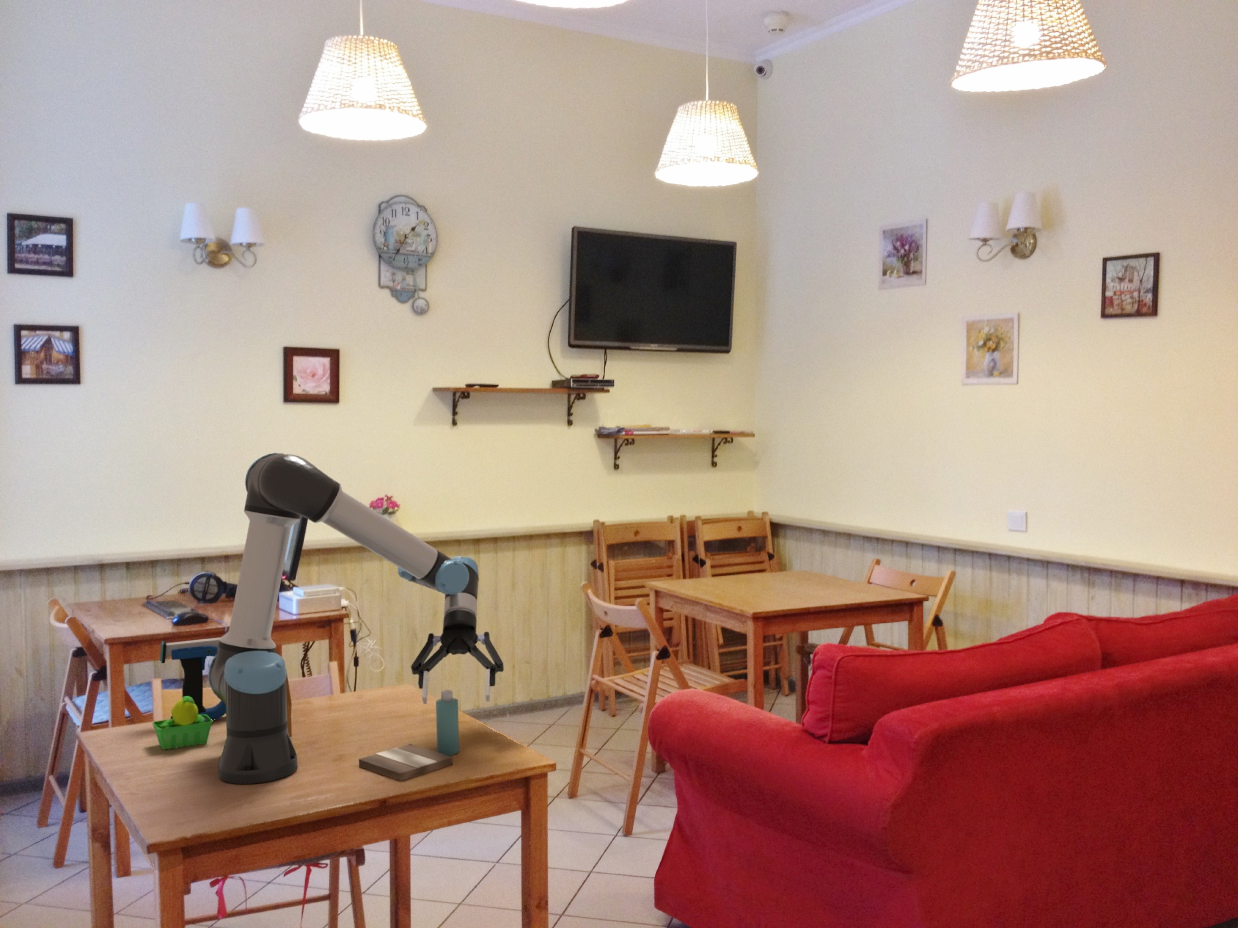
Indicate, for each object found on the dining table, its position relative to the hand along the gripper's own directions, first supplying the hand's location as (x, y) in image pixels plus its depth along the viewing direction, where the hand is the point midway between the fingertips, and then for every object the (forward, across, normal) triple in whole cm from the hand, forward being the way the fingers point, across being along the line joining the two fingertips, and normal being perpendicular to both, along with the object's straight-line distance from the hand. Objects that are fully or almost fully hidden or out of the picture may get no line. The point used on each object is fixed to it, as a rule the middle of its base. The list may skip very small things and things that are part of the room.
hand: (456, 699), depth 229 cm
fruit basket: (+2, +60, -12) cm, 62 cm away
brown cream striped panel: (+16, +9, +2) cm, 19 cm away
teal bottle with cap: (+11, +1, -3) cm, 11 cm away
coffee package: (-1, +44, -16) cm, 47 cm away
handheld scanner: (-11, +63, -25) cm, 69 cm away
